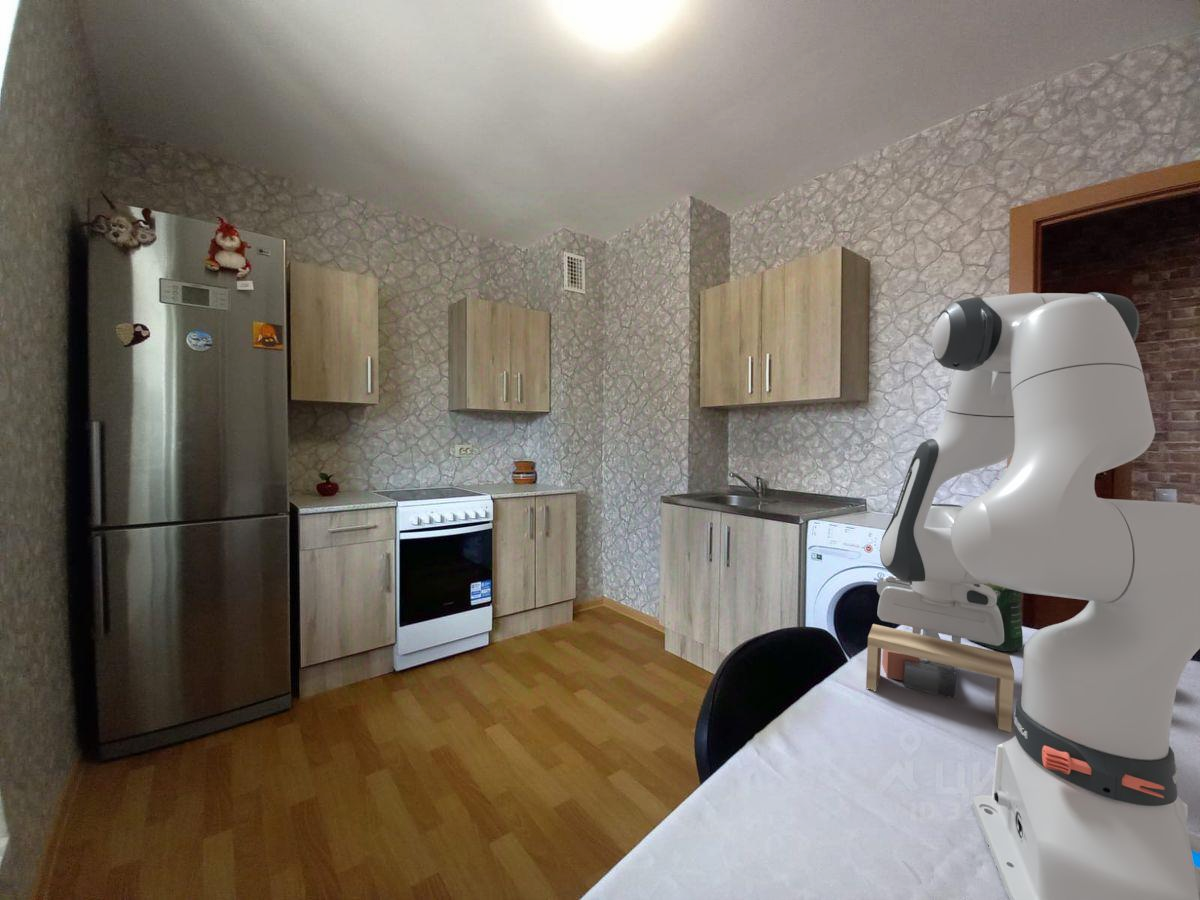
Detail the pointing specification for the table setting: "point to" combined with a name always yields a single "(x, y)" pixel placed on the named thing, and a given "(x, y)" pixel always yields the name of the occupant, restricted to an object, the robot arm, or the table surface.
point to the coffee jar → (1008, 618)
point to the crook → (930, 675)
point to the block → (895, 663)
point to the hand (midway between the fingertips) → (935, 652)
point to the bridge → (945, 662)
